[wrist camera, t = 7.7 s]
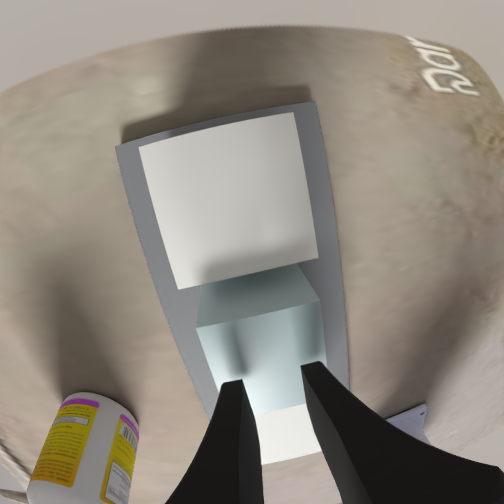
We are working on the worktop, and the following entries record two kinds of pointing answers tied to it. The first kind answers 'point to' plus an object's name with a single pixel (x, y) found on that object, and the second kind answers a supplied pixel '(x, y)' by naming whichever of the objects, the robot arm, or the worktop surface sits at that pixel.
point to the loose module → (262, 334)
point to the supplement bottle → (86, 454)
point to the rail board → (310, 268)
